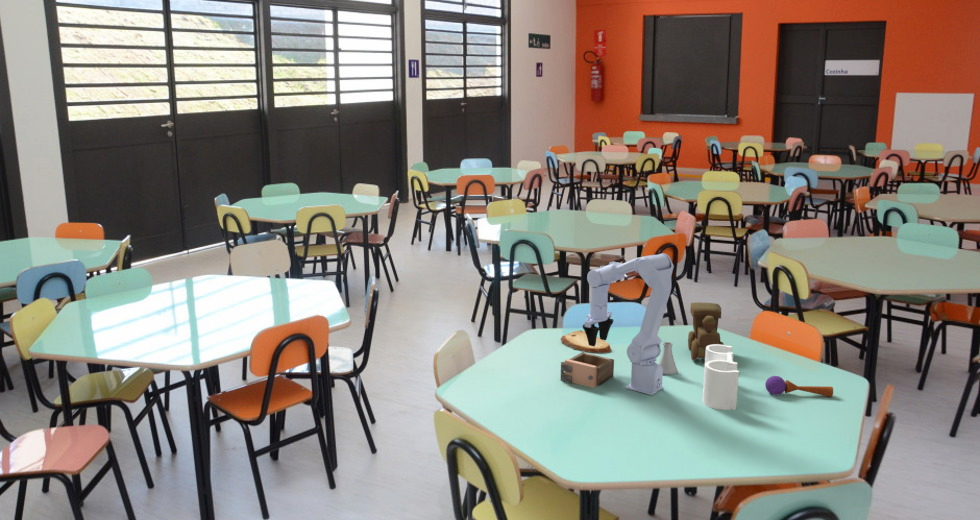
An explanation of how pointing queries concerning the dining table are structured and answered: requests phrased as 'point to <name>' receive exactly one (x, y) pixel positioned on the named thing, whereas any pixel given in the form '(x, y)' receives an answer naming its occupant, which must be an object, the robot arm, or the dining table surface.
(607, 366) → the cabinet
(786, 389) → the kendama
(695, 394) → the dining table surface
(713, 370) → the bracket
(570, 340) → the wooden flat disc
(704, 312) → the wooden toy train
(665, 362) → the flask
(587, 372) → the door
